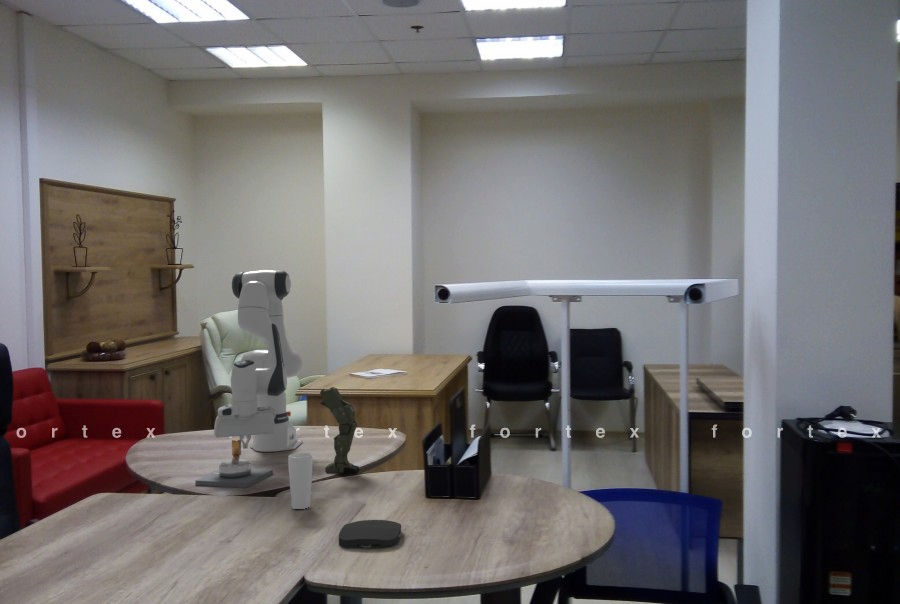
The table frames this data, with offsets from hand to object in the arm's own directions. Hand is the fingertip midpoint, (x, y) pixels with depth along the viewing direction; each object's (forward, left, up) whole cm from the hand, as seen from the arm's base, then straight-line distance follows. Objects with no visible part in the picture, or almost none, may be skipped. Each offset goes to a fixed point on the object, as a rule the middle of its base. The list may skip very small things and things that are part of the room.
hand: (245, 448), depth 250 cm
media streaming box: (+57, +65, -9) cm, 87 cm away
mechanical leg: (-7, +32, -8) cm, 34 cm away
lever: (+7, 0, -6) cm, 10 cm away
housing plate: (+10, +2, -8) cm, 13 cm away
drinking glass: (+36, +37, -8) cm, 53 cm away
